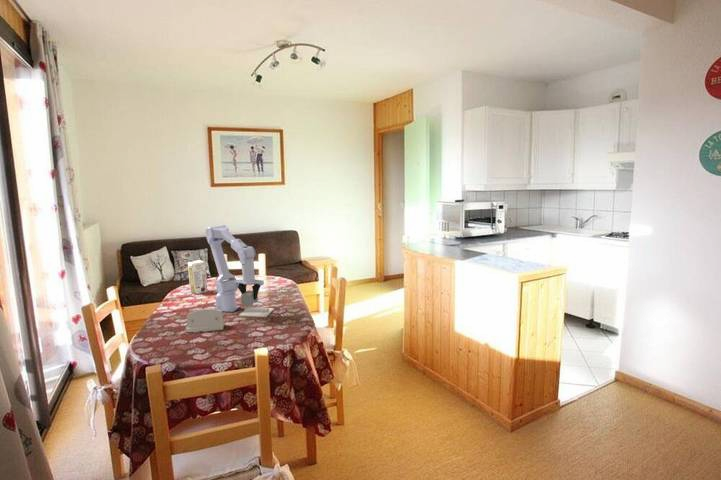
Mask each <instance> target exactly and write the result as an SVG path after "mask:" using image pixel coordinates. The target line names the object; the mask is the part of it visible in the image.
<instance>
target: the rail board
mask: <svg viewBox="0 0 721 480" xmlns="http://www.w3.org/2000/svg"><path fill="white" fill-rule="evenodd" d="M273 311H275V307H253V306H247V307H245V308H244V310H243V311H242V312H240V313H239V314H238V316H239V317H253V318H254V317H255V318H266V317H268V316H269V315H270V314H271V313H272V312H273Z"/></svg>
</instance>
